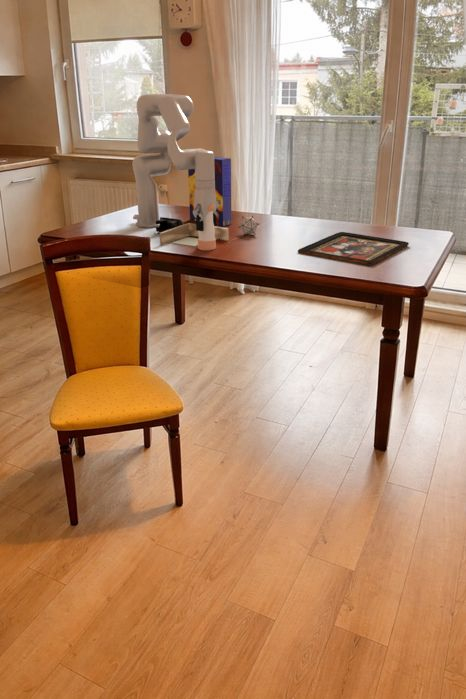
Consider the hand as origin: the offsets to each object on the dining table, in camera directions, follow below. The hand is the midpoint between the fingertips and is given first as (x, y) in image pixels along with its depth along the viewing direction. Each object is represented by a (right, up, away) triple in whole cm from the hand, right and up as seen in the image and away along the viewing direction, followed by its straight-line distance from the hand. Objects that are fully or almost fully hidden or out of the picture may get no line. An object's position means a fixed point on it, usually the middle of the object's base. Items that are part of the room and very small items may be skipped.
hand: (206, 228), depth 236 cm
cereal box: (0, +12, +47) cm, 48 cm away
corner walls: (-5, -3, +12) cm, 14 cm away
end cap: (-18, +3, +27) cm, 32 cm away
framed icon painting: (+59, -9, 0) cm, 60 cm away
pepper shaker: (0, -7, +4) cm, 8 cm away
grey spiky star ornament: (+17, +2, +24) cm, 30 cm away
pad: (-7, -3, +12) cm, 15 cm away
